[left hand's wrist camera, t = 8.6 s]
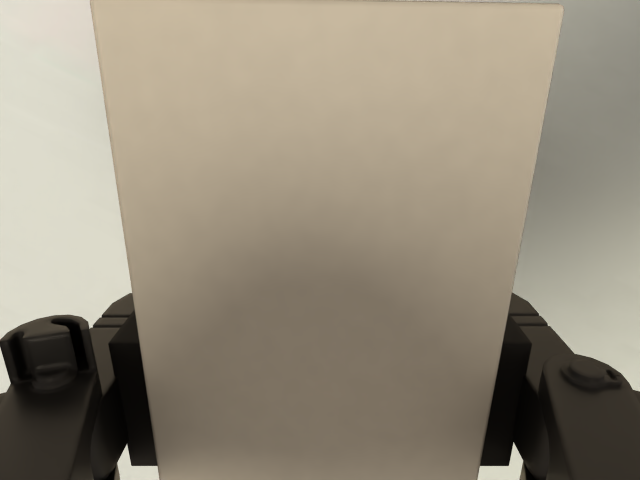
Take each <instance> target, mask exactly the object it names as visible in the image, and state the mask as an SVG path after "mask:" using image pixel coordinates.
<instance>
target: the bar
mask: <svg viewBox="0 0 640 480" xmlns="http://www.w3.org/2000/svg"><path fill="white" fill-rule="evenodd" d="M90 5H91V12H92V19H93V26H94V33H95V40H96V46H97V53H98V60H99V67H100V74H101V81H102V88H103V94H104V101H105V108H106V115H107V122H108V129H109V136H110V142H111V149H112V156H113V163H114V170H115V177H116V184H117V191H118V197H119V204H120V211H121V218H122V225H123V232H124V239H125V245H126V252H127V259H128V266H129V273H130V280H131V287H132V293H133V300H134V307H135V314H136V321H137V328H138V335H139V341H140V348H141V355H142V362H143V369H144V376H145V383H146V390H147V396H148V403H149V410H150V417H151V424H152V431H153V438H154V444H155V451H156V458H157V465H158V472H159V479H160V480H477V478H478V473H479V467H480V462H481V456H482V451H483V446H484V440H485V435H486V429H487V424H488V419H489V413H490V408H491V402H492V397H493V392H494V386H495V381H496V375H497V370H498V365H499V359H500V354H501V348H502V343H503V338H504V332H505V327H506V321H507V316H508V311H509V305H510V300H511V294H512V289H513V284H514V278H515V273H516V267H517V262H518V257H519V251H520V246H521V240H522V235H523V230H524V224H525V219H526V213H527V208H528V203H529V197H530V192H531V186H532V181H533V176H534V170H535V165H536V159H537V154H538V149H539V143H540V138H541V132H542V127H543V122H544V116H545V111H546V106H547V100H548V95H549V89H550V84H551V79H552V73H553V68H554V62H555V57H556V52H557V46H558V41H559V35H560V30H561V25H562V19H563V14H564V6H562V5H560V4H550V3H496V2H442V1H388V0H90Z"/></svg>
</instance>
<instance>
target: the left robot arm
mask: <svg viewBox="0 0 640 480" xmlns="http://www.w3.org/2000/svg"><path fill="white" fill-rule="evenodd" d="M0 347H1V351H2V354H3V358H4V361H5V365H6V368H7V372H8V375H9V379H10V382H11V385H10V387H9V388H8V390H7V392H6V393H2V394H0V480H120V476H119V470H118V465H117V462H118V460H119V458H120V456H121V454H122V452H123V450H124V448H125V446H126V444H127V445H128V450H129V455H130V460H131V465H132V466H158V465H157V458H156V451H155V444H154V438H153V431H152V424H151V417H150V410H149V403H148V396H147V390H146V383H145V376H144V369H143V362H142V355H141V348H140V341H139V335H138V328H137V321H136V314H135V307H134V300H133V293H129V294H128V295H126V296H124V297H123V298H121V299H119V300H117V301H116V302H114V303H112V304H111V306H110V307H109V308H108V309H107V310H106V311H105V312H104V313H103V315H102V318H99V319H98V320H97V321H96V322H95V324H94V325H93V328H90V329H89V324H88V321H86V320H85V319H83V318H82V317H79V316H73V315H54V316H49V317H44V318H40V319H36V320H33V321H30V322H28V323H25V324H22V325H20V326H18V327H17V328H15V329H13V330H11V331H10V332H8V333H7V334H6V335H5V336H4V337H3V338H2V339H1V340H0ZM513 442H514V443H515V445H516V447H517V449H518V451H519V453H520V455H521V457H522V459H523V465H522V470H521V475H520V480H640V392H639V391H635V390H632V388H631V386H630V384H629V382H628V381H627V380H626V379H625V378H624V376H623V375H622V374H621V373H620V372H618V371H617V370H615V369H614V368H612V367H611V366H609V365H607V364H605V363H603V362H600V361H598V360H596V359H593V358H590V357H586V356H582V355H577V354H574V353H573V352H572V350H571V349H570V348H569V347H568V346H567V345H566V344H565V343H564V341H563V340H562V339H561V338H560V337H559V336H558V335H557V334H556V333H555V331H554V330H553V329H552V328H551V327H550V326H548V325H547V322H546V321H545V320H544V319H543V318H542V317H541V316H539V313H538V312H537V311H536V310H535V309H534V308H533V307H532V306H531V304H530V303H529V302H528V301H526V300H524V299H522V298H521V297H519V296H517V295H515V294H514V293H512V294H511V300H510V305H509V311H508V316H507V321H506V327H505V332H504V338H503V343H502V348H501V354H500V359H499V365H498V370H497V375H496V381H495V386H494V392H493V397H492V402H491V408H490V413H489V419H488V424H487V429H486V435H485V440H484V446H483V451H482V456H481V462H480V466H509V462H510V457H511V451H512V446H513Z"/></svg>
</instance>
